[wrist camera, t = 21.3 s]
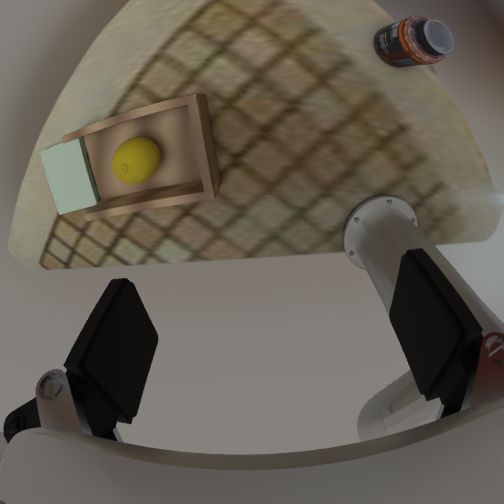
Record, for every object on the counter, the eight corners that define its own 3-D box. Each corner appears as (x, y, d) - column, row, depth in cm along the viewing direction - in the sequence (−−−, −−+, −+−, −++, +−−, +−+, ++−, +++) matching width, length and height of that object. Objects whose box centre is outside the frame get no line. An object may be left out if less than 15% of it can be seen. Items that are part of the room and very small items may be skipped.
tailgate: (77, 135, 30) (40, 152, 31) (97, 204, 36) (59, 214, 36) (82, 134, 32) (45, 150, 32) (101, 200, 37) (63, 211, 37)
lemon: (149, 180, 35) (125, 203, 28) (122, 152, 33) (92, 169, 26) (176, 153, 33) (156, 169, 26) (148, 123, 31) (121, 132, 24)
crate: (205, 94, 30) (195, 93, 25) (220, 182, 36) (214, 199, 31) (85, 128, 31) (61, 137, 26) (105, 203, 37) (86, 221, 32)
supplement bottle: (417, 63, 25) (468, 61, 16) (383, 71, 27) (430, 67, 17) (400, 24, 23) (447, 10, 13) (365, 31, 24) (406, 12, 14)
